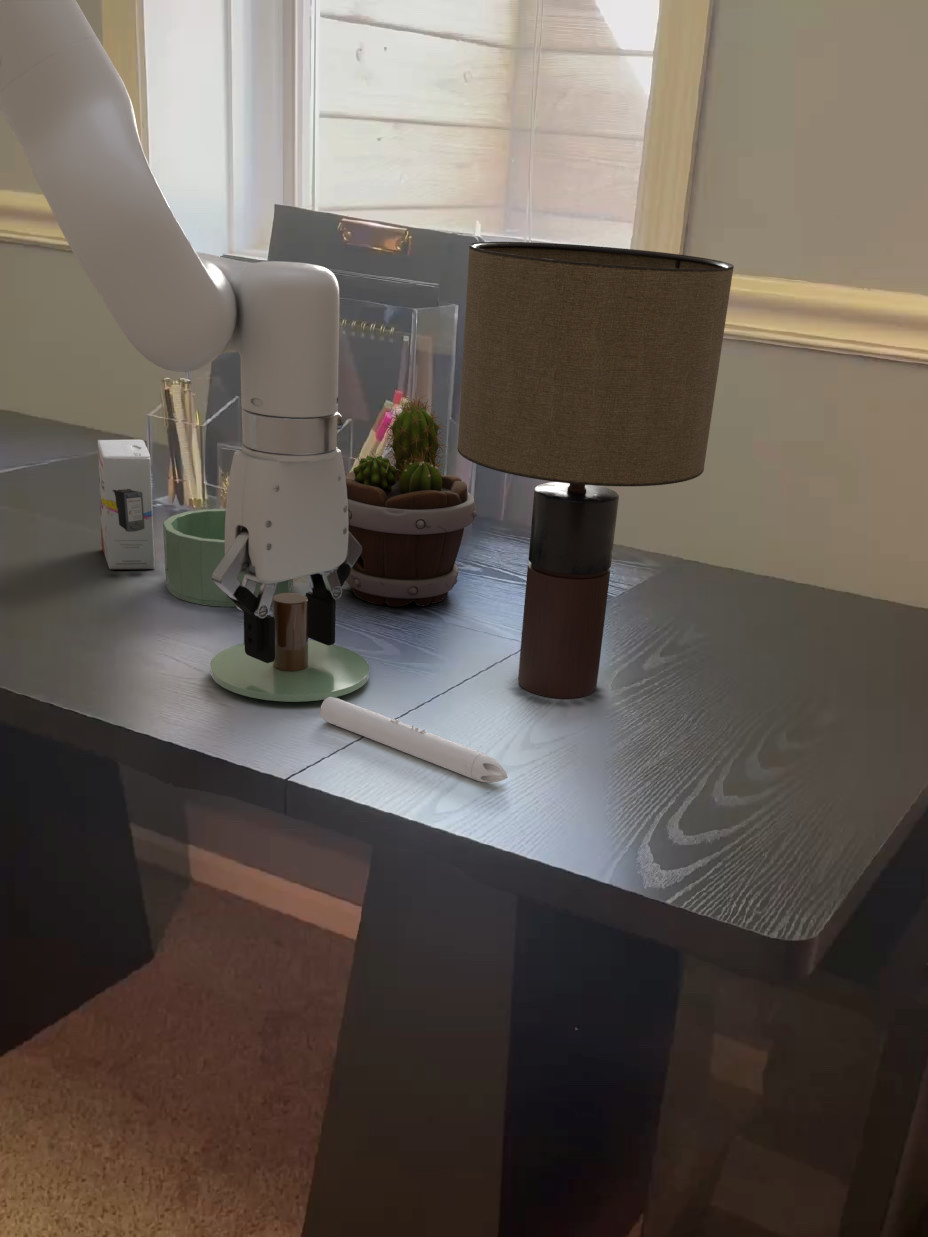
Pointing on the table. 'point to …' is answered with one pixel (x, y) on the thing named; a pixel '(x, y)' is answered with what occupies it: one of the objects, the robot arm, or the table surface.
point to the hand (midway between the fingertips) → (290, 647)
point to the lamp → (585, 413)
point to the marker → (412, 740)
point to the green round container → (199, 557)
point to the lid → (291, 662)
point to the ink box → (126, 504)
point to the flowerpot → (407, 516)
